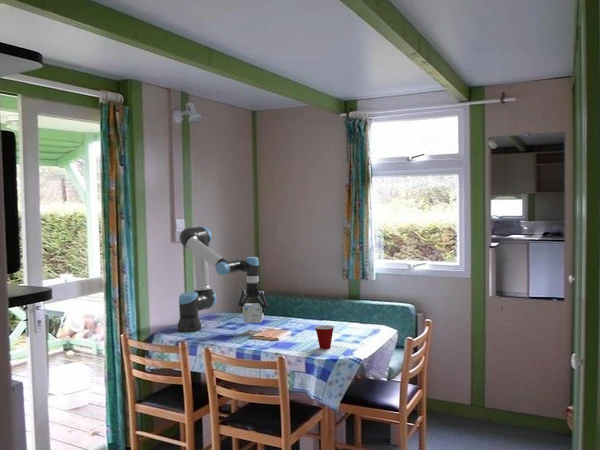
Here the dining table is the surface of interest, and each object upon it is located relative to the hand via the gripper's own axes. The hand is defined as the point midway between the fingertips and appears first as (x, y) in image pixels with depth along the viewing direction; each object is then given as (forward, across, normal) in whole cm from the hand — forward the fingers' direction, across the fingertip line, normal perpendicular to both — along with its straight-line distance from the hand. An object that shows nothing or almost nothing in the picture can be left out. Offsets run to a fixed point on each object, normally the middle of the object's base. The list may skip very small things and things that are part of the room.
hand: (253, 317), depth 320 cm
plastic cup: (+9, +52, -22) cm, 57 cm away
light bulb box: (+3, 0, 0) cm, 3 cm away
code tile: (+9, +4, -2) cm, 10 cm away
